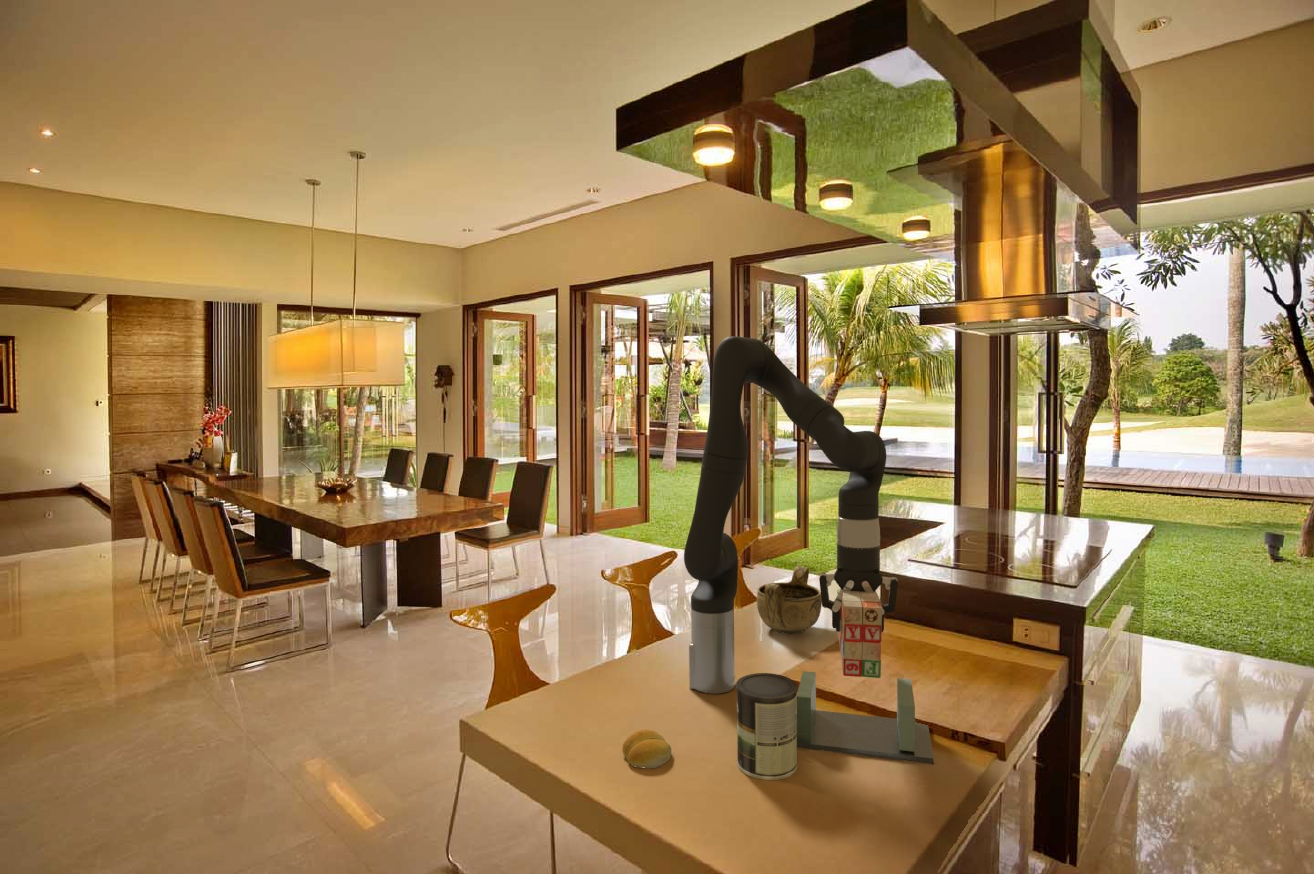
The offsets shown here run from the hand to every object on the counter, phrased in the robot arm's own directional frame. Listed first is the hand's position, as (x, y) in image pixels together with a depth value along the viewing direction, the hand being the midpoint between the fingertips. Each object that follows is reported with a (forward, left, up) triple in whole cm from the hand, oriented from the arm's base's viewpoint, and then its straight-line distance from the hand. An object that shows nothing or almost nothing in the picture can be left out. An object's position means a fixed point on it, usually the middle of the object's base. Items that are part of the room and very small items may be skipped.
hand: (857, 631), depth 132 cm
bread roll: (-36, -17, -20) cm, 44 cm away
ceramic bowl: (-18, +56, -20) cm, 62 cm away
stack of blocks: (0, 0, -5) cm, 5 cm away
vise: (+1, 0, -20) cm, 20 cm away
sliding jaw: (+8, 0, -18) cm, 20 cm away
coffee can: (-15, -14, -20) cm, 29 cm away
